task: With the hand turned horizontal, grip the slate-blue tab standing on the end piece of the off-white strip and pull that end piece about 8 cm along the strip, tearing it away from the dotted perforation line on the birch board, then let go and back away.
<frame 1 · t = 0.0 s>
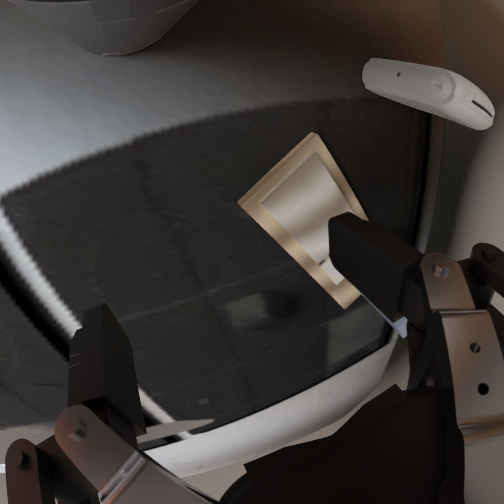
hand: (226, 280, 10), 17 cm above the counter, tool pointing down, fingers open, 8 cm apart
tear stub: (377, 284, 32), point 7 cm above the counter, slide at 0.0 cm
photo printer: (390, 83, 27), on the counter
perforated strip board: (332, 238, 36), on the counter
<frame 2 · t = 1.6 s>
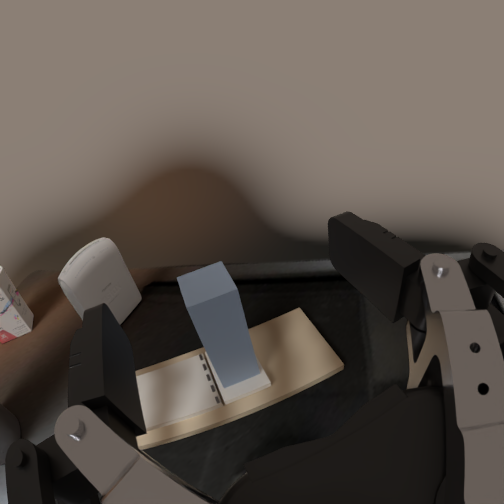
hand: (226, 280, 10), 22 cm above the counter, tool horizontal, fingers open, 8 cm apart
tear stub: (223, 334, 27), point 8 cm above the counter, slide at 0.0 cm
ink cartridge box: (18, 330, 42), on the counter
photo printer: (118, 318, 42), on the counter
perforated strip board: (215, 384, 31), on the counter
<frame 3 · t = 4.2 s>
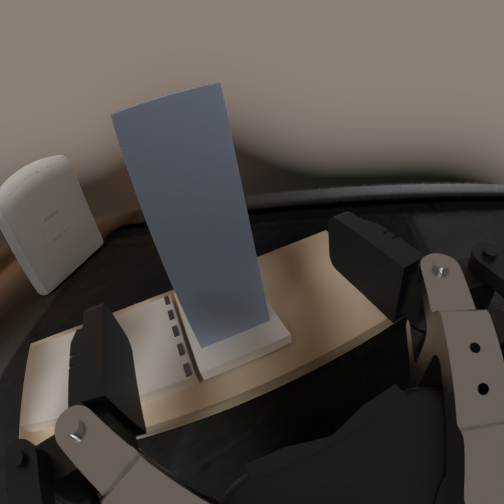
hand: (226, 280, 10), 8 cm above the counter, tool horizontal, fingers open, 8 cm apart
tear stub: (197, 228, 14), point 8 cm above the counter, slide at 0.0 cm
photo printer: (71, 268, 29), on the counter
perforated strip board: (190, 348, 18), on the counter
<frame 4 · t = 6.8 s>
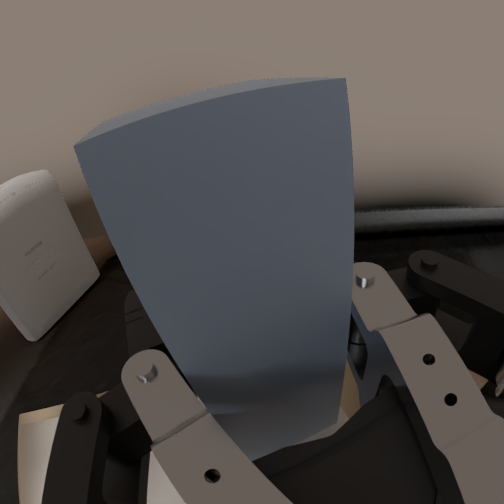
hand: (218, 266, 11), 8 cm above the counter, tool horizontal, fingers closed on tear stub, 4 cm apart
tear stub: (251, 327, 9), point 7 cm above the counter, slide at 0.0 cm, touching gripper
photo printer: (62, 306, 24), on the counter
perforated strip board: (224, 445, 12), on the counter
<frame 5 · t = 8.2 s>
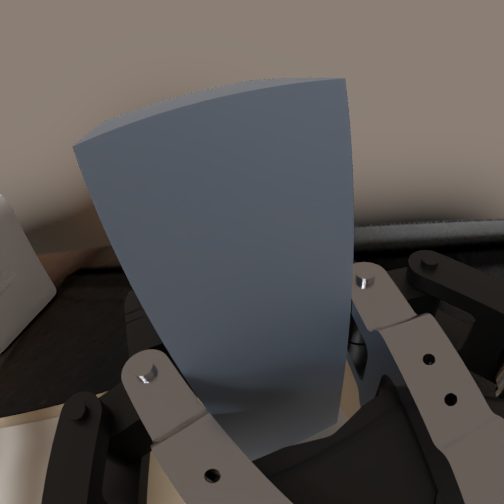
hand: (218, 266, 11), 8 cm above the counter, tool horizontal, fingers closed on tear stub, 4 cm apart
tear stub: (250, 328, 9), point 7 cm above the counter, slide at 5.3 cm, touching gripper
photo printer: (24, 322, 23), on the counter
perforated strip board: (131, 472, 11), on the counter
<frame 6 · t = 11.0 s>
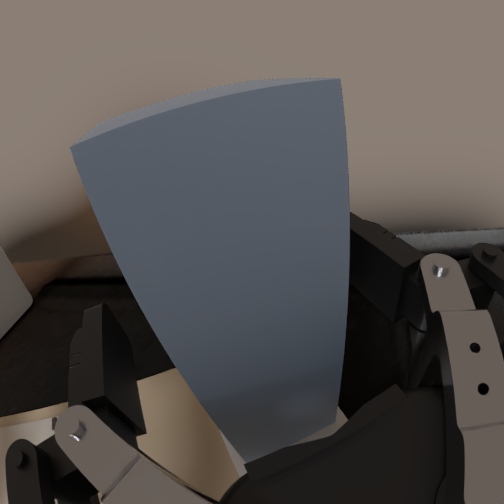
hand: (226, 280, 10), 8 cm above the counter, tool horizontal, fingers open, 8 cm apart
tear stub: (248, 327, 9), point 7 cm above the counter, slide at 8.5 cm
photo printer: (3, 330, 22), on the counter
perforated strip board: (81, 480, 10), on the counter
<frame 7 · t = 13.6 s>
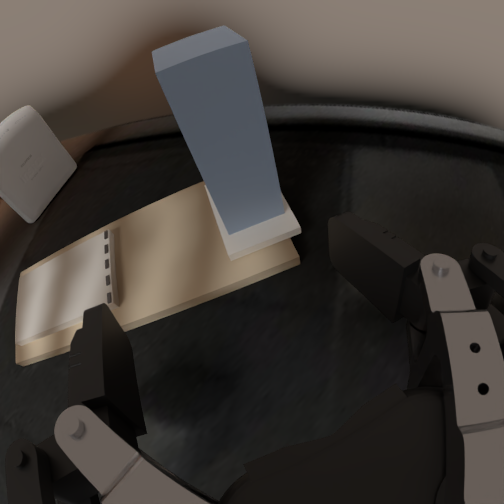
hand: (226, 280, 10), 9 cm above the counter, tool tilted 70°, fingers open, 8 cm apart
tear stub: (227, 142, 17), point 8 cm above the counter, slide at 8.5 cm
photo printer: (52, 194, 32), on the counter
perforated strip board: (122, 273, 23), on the counter
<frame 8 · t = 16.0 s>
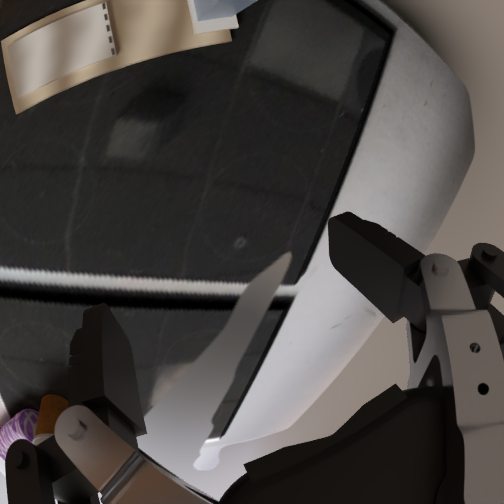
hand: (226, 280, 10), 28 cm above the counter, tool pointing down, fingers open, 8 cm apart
pencil case: (20, 422, 44), on the counter
disposable coffee cup: (55, 402, 45), on the counter
perforated strip board: (111, 30, 23), on the counter
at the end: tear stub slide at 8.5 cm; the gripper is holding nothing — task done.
